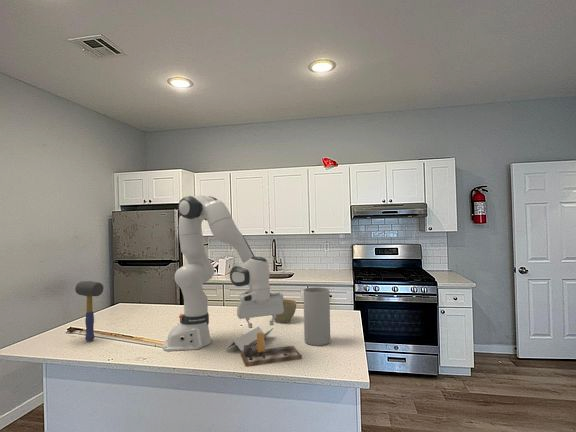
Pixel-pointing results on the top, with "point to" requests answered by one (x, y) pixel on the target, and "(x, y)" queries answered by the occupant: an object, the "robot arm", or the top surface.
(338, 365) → the top surface
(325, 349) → the top surface
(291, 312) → the planter bowl
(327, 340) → the cylinder vase
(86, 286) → the rubber mallet
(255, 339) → the z bracket
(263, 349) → the sliding jaw
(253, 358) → the gauge board
